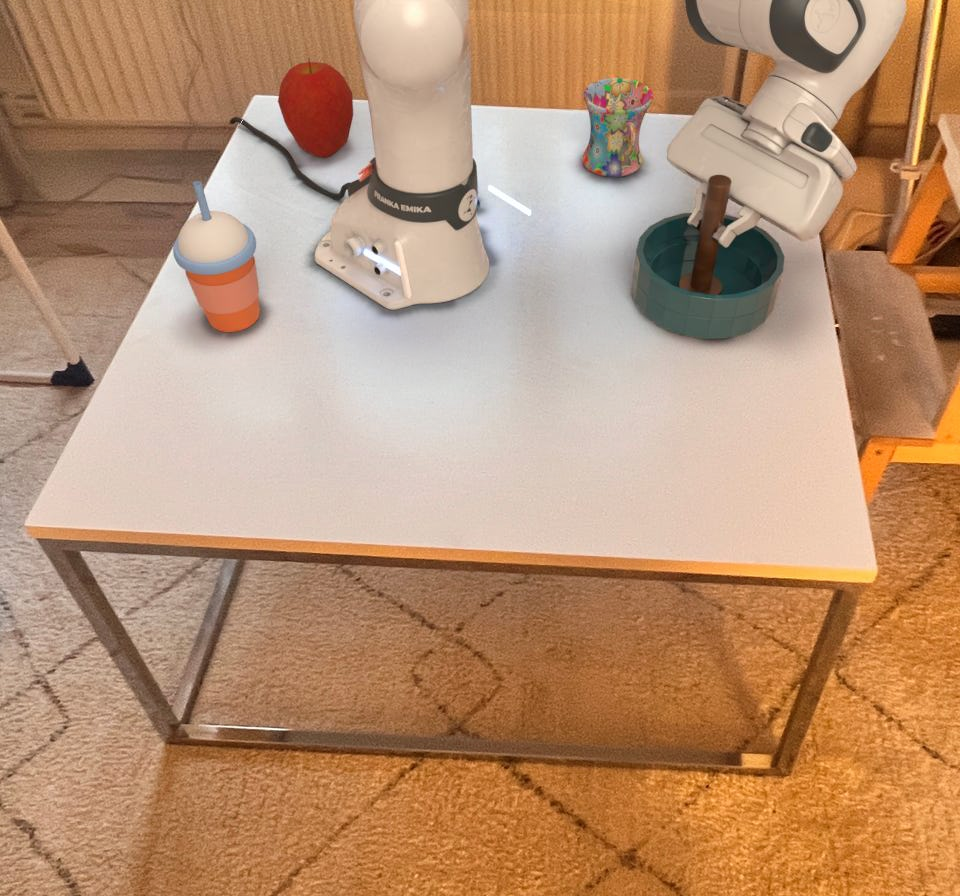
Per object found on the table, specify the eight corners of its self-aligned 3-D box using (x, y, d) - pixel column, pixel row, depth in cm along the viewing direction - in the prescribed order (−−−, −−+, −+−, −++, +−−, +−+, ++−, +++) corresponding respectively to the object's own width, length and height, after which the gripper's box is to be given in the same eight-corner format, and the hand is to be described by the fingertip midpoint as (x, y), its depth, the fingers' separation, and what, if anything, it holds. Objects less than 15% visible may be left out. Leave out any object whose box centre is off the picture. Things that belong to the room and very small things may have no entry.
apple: (370, 140, 138) (359, 47, 127) (338, 174, 131) (324, 79, 121) (309, 128, 140) (294, 36, 130) (275, 161, 134) (256, 67, 124)
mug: (571, 152, 134) (575, 81, 126) (632, 144, 135) (640, 73, 127) (595, 197, 126) (601, 125, 118) (660, 188, 127) (670, 116, 119)
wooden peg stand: (670, 297, 108) (688, 185, 97) (688, 275, 111) (707, 163, 100) (710, 312, 107) (733, 198, 95) (727, 288, 109) (751, 175, 98)
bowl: (607, 312, 110) (611, 268, 105) (667, 241, 119) (674, 197, 114) (739, 362, 103) (750, 317, 99) (792, 283, 113) (805, 238, 108)
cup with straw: (256, 345, 107) (221, 211, 94) (183, 336, 109) (138, 203, 95) (283, 296, 113) (253, 164, 100) (213, 288, 115) (174, 157, 101)
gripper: (701, 75, 102) (628, 184, 106) (854, 150, 91) (766, 270, 94) (723, 101, 107) (652, 204, 111) (870, 175, 96) (786, 287, 99)
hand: (706, 235), depth 102 cm, fingers closed on wooden peg stand, 2 cm apart
